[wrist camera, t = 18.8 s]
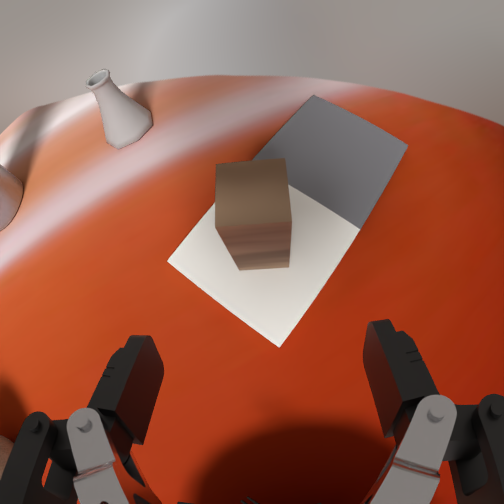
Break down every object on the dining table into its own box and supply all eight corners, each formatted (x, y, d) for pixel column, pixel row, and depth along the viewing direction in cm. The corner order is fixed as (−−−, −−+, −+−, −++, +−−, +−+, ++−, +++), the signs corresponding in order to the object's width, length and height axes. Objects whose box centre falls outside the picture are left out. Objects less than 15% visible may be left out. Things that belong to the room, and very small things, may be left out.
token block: (289, 267, 26) (292, 221, 17) (239, 270, 26) (214, 227, 17) (285, 221, 27) (285, 157, 18) (238, 224, 28) (216, 164, 18)
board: (279, 347, 25) (279, 347, 24) (170, 263, 28) (167, 261, 27) (405, 150, 30) (408, 145, 29) (313, 100, 33) (313, 94, 32)
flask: (142, 102, 37) (115, 52, 27) (161, 126, 34) (132, 70, 25) (101, 131, 36) (67, 85, 26) (115, 158, 34) (76, 109, 24)
